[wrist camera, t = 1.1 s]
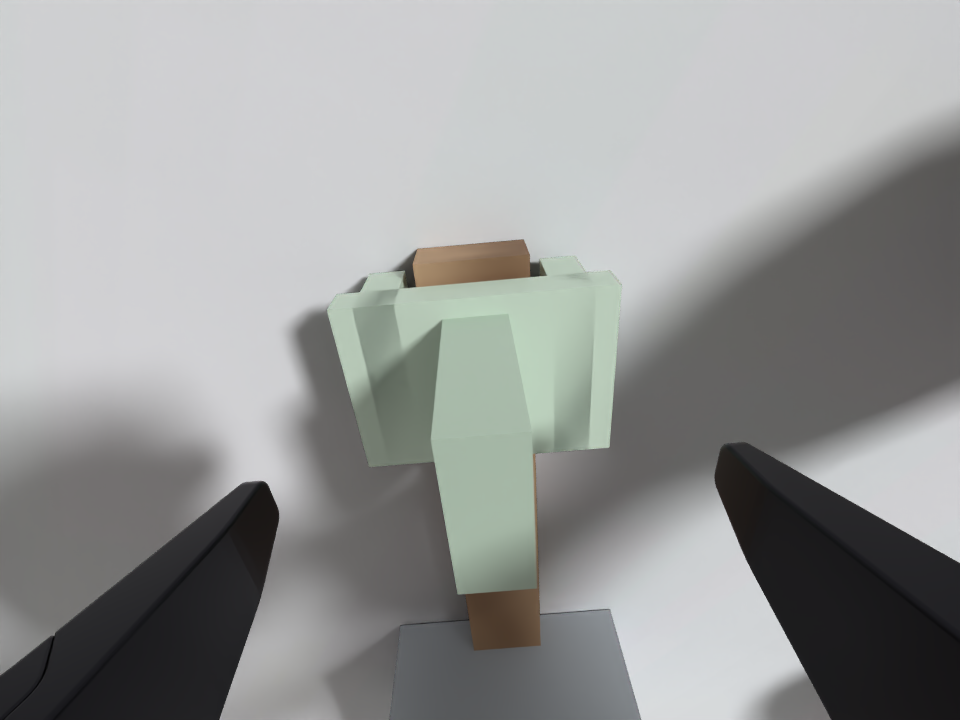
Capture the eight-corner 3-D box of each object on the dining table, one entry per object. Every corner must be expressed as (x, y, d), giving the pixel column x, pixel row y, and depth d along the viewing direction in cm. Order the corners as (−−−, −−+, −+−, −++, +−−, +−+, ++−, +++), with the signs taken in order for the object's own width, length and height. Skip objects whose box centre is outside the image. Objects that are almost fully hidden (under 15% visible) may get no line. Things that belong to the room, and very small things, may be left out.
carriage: (596, 253, 13) (709, 391, 7) (589, 400, 15) (668, 593, 9) (348, 275, 13) (250, 429, 7) (381, 417, 16) (330, 619, 10)
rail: (523, 239, 13) (529, 254, 12) (536, 615, 22) (540, 645, 21) (417, 249, 13) (412, 264, 12) (473, 620, 22) (474, 650, 21)
